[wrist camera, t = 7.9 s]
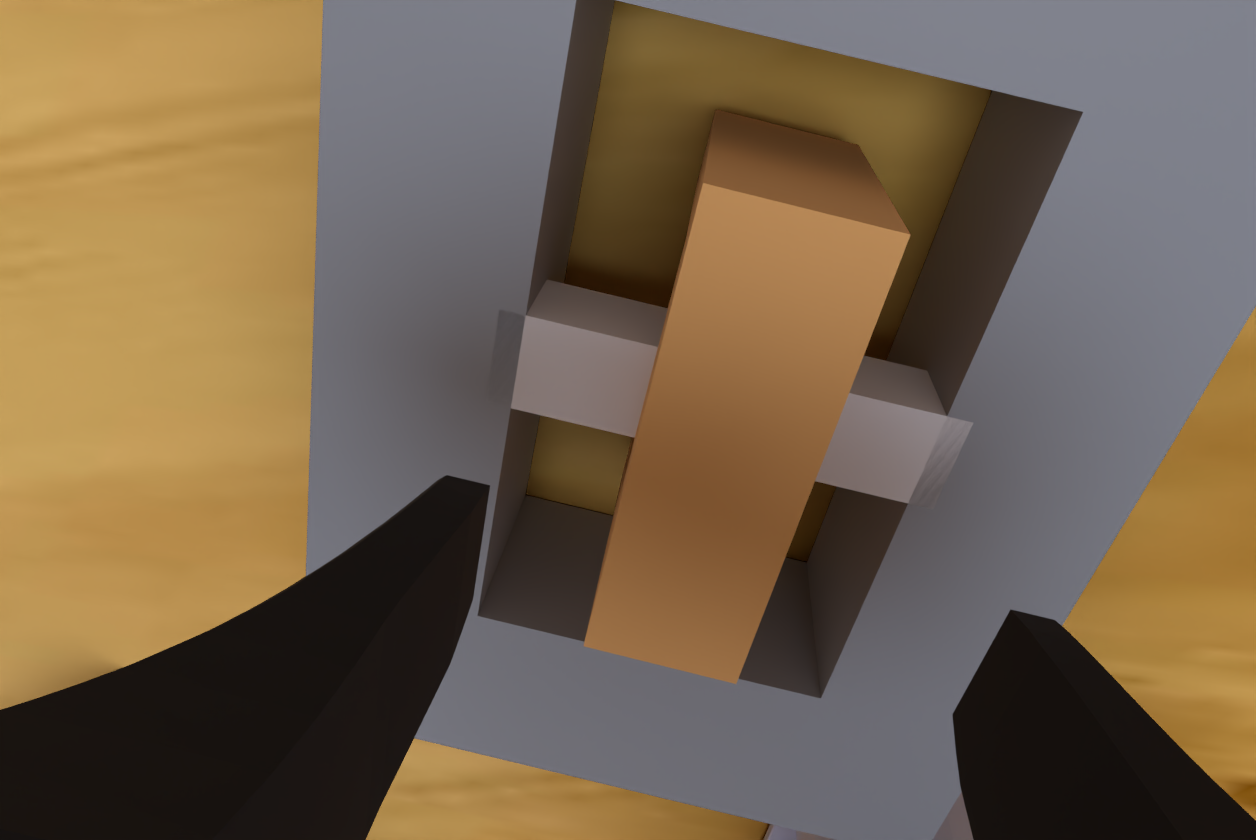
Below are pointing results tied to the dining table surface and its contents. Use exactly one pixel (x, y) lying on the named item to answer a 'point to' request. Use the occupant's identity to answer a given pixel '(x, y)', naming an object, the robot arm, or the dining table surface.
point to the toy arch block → (743, 391)
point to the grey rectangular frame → (874, 410)
